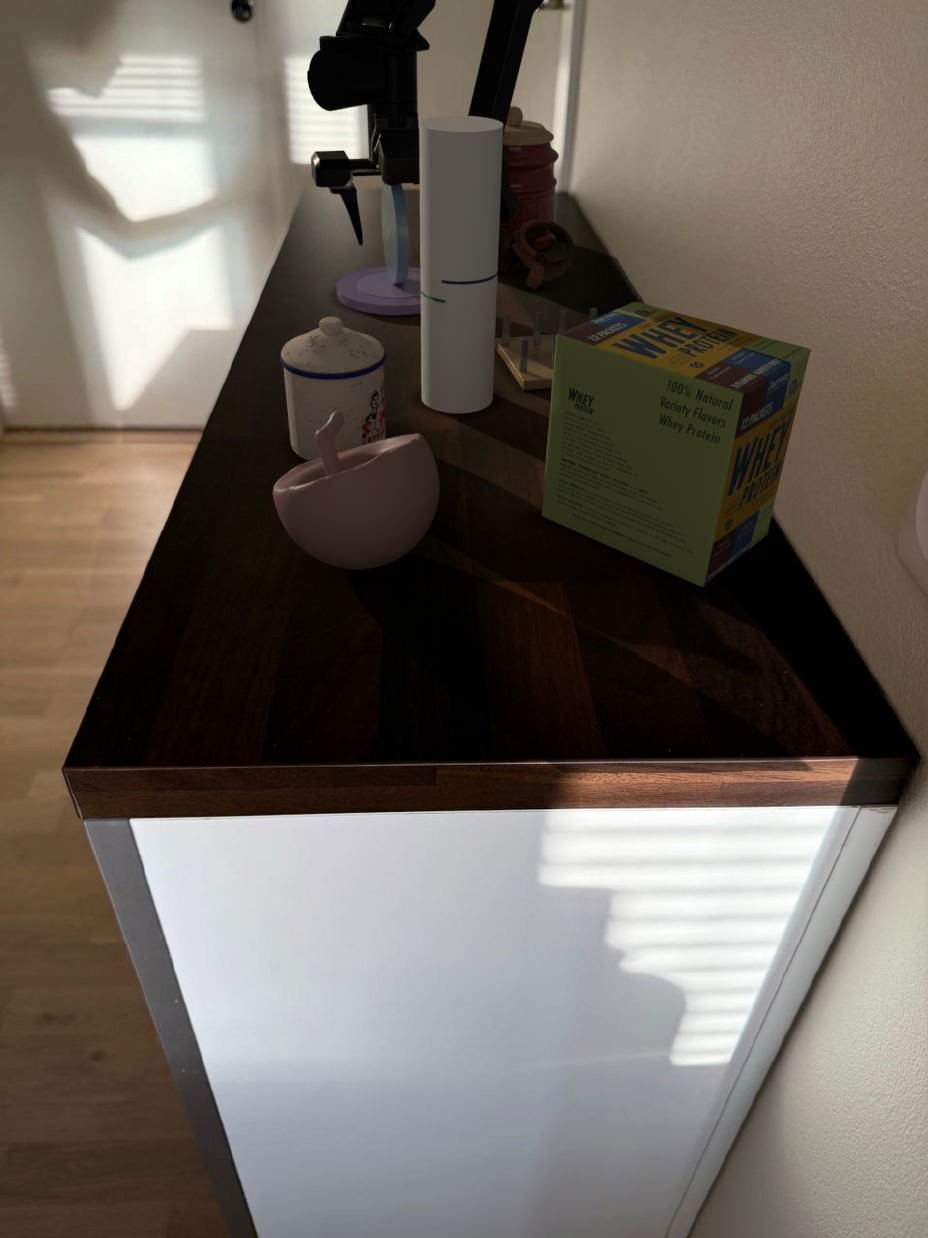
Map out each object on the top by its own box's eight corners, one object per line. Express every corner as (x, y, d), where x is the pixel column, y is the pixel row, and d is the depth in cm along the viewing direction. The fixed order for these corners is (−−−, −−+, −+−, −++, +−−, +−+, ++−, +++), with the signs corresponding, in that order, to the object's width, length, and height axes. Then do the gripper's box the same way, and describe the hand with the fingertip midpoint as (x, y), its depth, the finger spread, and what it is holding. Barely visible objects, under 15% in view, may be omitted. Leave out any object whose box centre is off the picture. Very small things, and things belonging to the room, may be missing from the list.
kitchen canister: (449, 234, 145) (450, 100, 134) (528, 226, 149) (535, 95, 138) (485, 259, 135) (489, 117, 125) (568, 250, 139) (579, 112, 129)
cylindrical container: (485, 416, 95) (495, 134, 80) (414, 409, 96) (410, 128, 81) (498, 387, 101) (509, 118, 86) (430, 380, 102) (429, 113, 87)
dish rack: (494, 346, 110) (495, 306, 107) (587, 340, 112) (591, 300, 109) (523, 390, 100) (525, 347, 98) (624, 382, 102) (629, 340, 100)
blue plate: (378, 211, 126) (387, 157, 114) (389, 211, 126) (399, 156, 114) (390, 300, 125) (401, 255, 113) (401, 300, 125) (413, 254, 113)
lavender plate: (354, 271, 130) (354, 261, 129) (465, 279, 128) (466, 269, 127) (321, 309, 118) (321, 299, 117) (444, 319, 116) (444, 308, 115)
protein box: (705, 590, 72) (745, 392, 63) (538, 517, 80) (552, 332, 71) (770, 534, 78) (816, 347, 69) (610, 472, 86) (631, 296, 77)
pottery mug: (559, 268, 134) (581, 221, 127) (555, 320, 130) (578, 275, 123) (475, 244, 132) (492, 195, 125) (468, 296, 127) (486, 249, 120)
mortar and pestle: (359, 500, 82) (352, 369, 75) (471, 551, 76) (474, 414, 69) (248, 560, 74) (229, 421, 67) (362, 622, 68) (354, 476, 61)
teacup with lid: (385, 469, 86) (381, 340, 79) (282, 467, 86) (268, 338, 79) (392, 410, 96) (389, 291, 89) (299, 409, 96) (289, 289, 89)
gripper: (316, 114, 102) (326, 267, 111) (490, 110, 105) (486, 258, 115) (305, 96, 111) (316, 239, 120) (466, 93, 114) (464, 232, 123)
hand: (395, 242), depth 119 cm, fingers open, 8 cm apart
